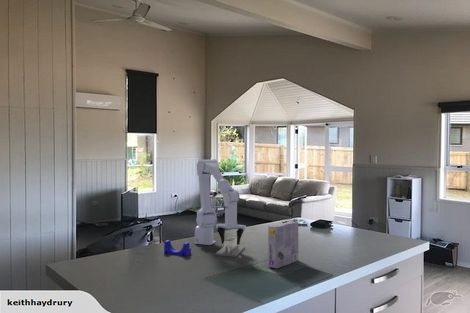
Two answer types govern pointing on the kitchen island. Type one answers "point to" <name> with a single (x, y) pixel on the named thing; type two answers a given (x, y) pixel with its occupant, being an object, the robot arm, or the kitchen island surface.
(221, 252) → the pin tray
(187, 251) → the cable clip
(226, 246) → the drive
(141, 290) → the kitchen island surface
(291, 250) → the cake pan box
